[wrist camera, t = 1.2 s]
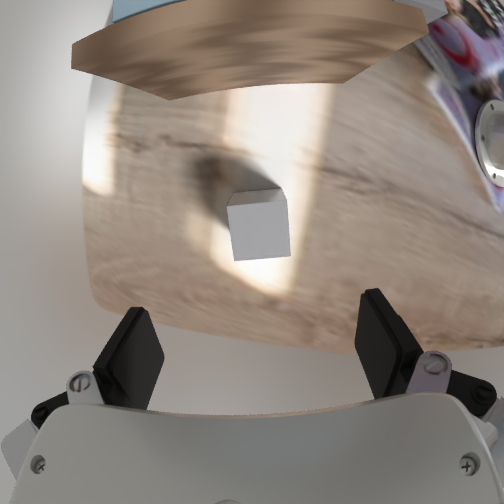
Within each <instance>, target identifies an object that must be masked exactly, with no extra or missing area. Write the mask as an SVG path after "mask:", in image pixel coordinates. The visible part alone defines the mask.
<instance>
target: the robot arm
mask: <svg viewBox="0 0 504 504" xmlns="http://www.w3.org/2000/svg"><path fill="white" fill-rule="evenodd" d="M475 142H476V149H477V154H478V158H479V161H480V164H481V167H482V169H483V171H484V173H485V174H486V176H487V178H488V179H489V180H490V181H491V182H492V183H494V184H495V185H498V186H501V187H504V102H502V101H500V100H488V101H486V102H485V103H484V104H483V105H482V106H481V108H480V109H479V112H478V114H477V119H476V125H475ZM355 348H356V351H357V353H358V356H359V358H360V361H361V364H362V366H363V369H364V371H365V374H366V377H367V379H368V382H369V385H370V387H371V390H372V393H373V396H374V398H375V399H374V400H369V401H364V402H359V403H354V404H348V405H342V406H336V407H329V408H323V409H315V410H307V411H299V412H288V413H275V414H257V415H199V414H182V413H181V414H180V413H169V412H159V411H150V410H147V407H148V404H149V401H150V398H151V395H152V392H153V390H154V387H155V384H156V381H157V378H158V376H159V373H160V370H161V368H162V365H163V362H164V353H163V350H162V348H161V345H160V343H159V340H158V337H157V335H156V332H155V329H154V327H153V324H152V321H151V318H150V316H149V313H148V311H147V310H145V309H144V308H143V307H131V308H130V309H129V310H128V312H127V313H126V315H125V316H124V318H123V319H122V321H121V322H120V324H119V325H118V327H117V328H116V330H115V332H114V333H113V335H112V336H111V338H110V339H109V341H108V342H107V344H106V346H105V347H104V349H103V351H102V352H101V354H100V355H99V357H98V359H97V361H96V362H95V364H94V365H93V368H94V371H93V372H92V373H91V372H90V371H79V372H77V373H75V374H73V375H72V376H71V377H70V378H69V380H68V381H67V384H66V389H67V391H66V392H64V393H62V394H59V395H57V396H55V397H53V398H51V399H49V400H47V401H45V402H42V403H40V404H38V405H37V406H36V407H35V408H34V409H33V411H32V414H31V421H30V420H29V419H27V420H26V421H24V422H23V423H22V424H21V425H20V426H18V427H17V428H16V429H14V430H13V431H12V432H11V433H9V434H8V435H7V436H6V437H5V438H4V439H3V441H2V443H1V449H2V452H3V454H4V457H5V459H6V461H7V463H8V465H9V467H10V469H11V471H12V473H13V475H14V477H15V479H16V483H15V486H14V490H13V493H12V496H11V500H10V503H9V504H504V492H503V487H504V398H503V397H501V398H500V399H498V398H497V393H496V390H495V388H494V387H493V385H491V384H490V383H489V382H487V381H485V380H481V379H478V378H475V377H472V376H469V375H466V374H463V373H460V372H457V371H454V370H451V369H452V364H451V361H450V359H449V358H448V357H447V356H446V355H445V354H443V353H441V352H439V351H427V352H425V353H424V351H423V350H422V348H421V347H420V345H419V344H418V342H417V340H416V339H415V337H414V336H413V334H412V333H411V331H410V330H409V328H408V327H407V325H406V324H405V322H404V321H403V319H402V318H401V317H400V316H399V315H397V314H396V312H395V311H394V309H393V308H392V306H391V305H390V303H389V302H388V301H387V299H386V298H385V296H384V295H383V294H382V292H381V291H380V289H379V288H375V289H367V290H365V293H363V294H361V299H360V307H359V315H358V322H357V329H356V336H355Z"/></svg>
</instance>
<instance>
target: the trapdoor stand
mask: <svg viewBox="0 0 504 504" xmlns="http://www.w3.org/2000/svg"><path fill="white" fill-rule="evenodd" d="M427 34H429V29H428V26H427V23H426V19H425V16H424V13H423V10H422V9H420V8H417V7H414V6H410V5H407V4H403V3H399V2H396V1H392V0H186V1H182V2H178V3H174V4H170V5H166V6H163V7H160V8H156V9H153V10H150V11H147V12H144V13H141V14H138V15H136V16H133V17H130V18H128V19H125V20H122V21H120V22H118V23H115V24H113V25H110V26H108V27H106V28H104V29H102V30H99V31H97V32H95V33H93V34H91V35H89V36H87V37H85V38H83V39H81V40H79V41H77V42H76V43H74V44H72V61H71V63H72V64H71V68H72V69H76V70H79V71H83V72H87V73H90V74H94V75H97V76H101V77H104V78H107V79H111V80H114V81H117V82H120V83H123V84H126V85H129V86H132V87H135V88H138V89H141V90H143V91H146V92H149V93H152V94H154V95H157V96H159V97H162V98H165V99H167V100H173V99H177V98H182V97H187V96H192V95H197V94H202V93H208V92H213V91H220V90H227V89H234V88H242V87H251V86H261V85H274V84H292V83H341V84H343V83H345V82H346V81H348V80H349V79H351V78H352V77H354V76H356V75H357V74H359V73H360V72H362V71H363V70H365V69H367V68H368V67H370V66H372V65H373V64H375V63H377V62H378V61H380V60H382V59H383V58H385V57H387V56H388V55H390V54H392V53H394V52H395V51H397V50H399V49H401V48H403V47H404V46H406V45H408V44H410V43H412V42H414V41H416V40H417V39H419V38H421V37H423V36H425V35H427Z"/></svg>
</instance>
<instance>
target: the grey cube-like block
mask: <svg viewBox="0 0 504 504" xmlns="http://www.w3.org/2000/svg"><path fill="white" fill-rule="evenodd" d="M226 207H227V214H228V221H229V228H230V235H231V242H232V249H233V255H234V261H241V260H253V259H264V258H276V257H287V256H291V253H290V237H289V222H288V208H287V199H286V197H285V195H284V192H283V190H282V188H280V189H268V190H257V191H247V192H238V193H233V195H232V197H231V199H230V201H229V202H228V204H227V206H226Z"/></svg>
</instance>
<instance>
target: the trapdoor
mask: <svg viewBox="0 0 504 504" xmlns="http://www.w3.org/2000/svg"><path fill="white" fill-rule="evenodd" d="M182 1H186V0H113V14H112V22H113V23H118V22H120V21H122V20H125V19H128V18H130V17H133V16H136V15H138V14H141V13H144V12H147V11H150V10H153V9H156V8H160V7H163V6H166V5H170V4H174V3H178V2H182ZM392 1H396V2H399V3H403V4H407V5H410V6H414V7H417V8H420V9H422V10H423V13H424V16H425V19H426V23H427V24H429V23H431V22H432V21H434V20H436V19H438V18H440V17H442V16H444V15H446V14H448V11H447V9H446V6H445V3H444V1H443V0H392Z"/></svg>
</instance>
